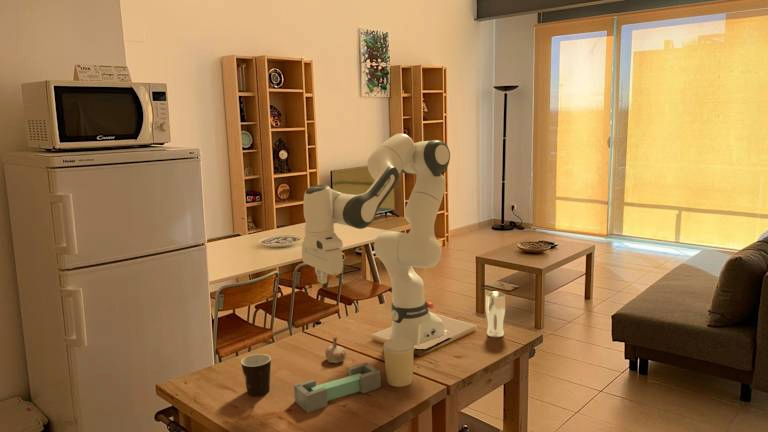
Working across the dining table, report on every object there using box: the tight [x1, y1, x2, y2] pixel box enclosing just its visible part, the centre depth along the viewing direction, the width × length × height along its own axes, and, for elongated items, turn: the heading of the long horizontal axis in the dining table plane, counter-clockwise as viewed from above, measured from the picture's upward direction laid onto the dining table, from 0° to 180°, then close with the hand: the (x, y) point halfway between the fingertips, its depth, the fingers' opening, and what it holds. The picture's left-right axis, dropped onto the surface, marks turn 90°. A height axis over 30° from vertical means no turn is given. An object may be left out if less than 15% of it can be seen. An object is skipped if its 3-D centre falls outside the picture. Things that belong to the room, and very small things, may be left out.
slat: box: [310, 373, 362, 402], centre depth 171 cm, size 16×3×4 cm, turn 120°
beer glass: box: [485, 291, 506, 338], centre depth 209 cm, size 7×7×15 cm
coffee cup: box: [382, 338, 415, 387], centre depth 177 cm, size 9×9×12 cm
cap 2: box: [347, 361, 382, 394], centre depth 175 cm, size 6×8×5 cm
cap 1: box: [293, 378, 328, 414], centre depth 166 cm, size 6×8×5 cm
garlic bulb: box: [324, 336, 347, 364], centre depth 193 cm, size 8×7×8 cm
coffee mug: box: [240, 353, 272, 398], centre depth 172 cm, size 12×9×10 cm
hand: (322, 282), depth 181 cm, fingers closed
